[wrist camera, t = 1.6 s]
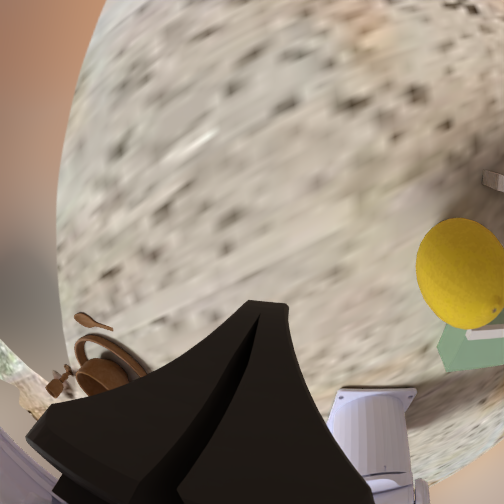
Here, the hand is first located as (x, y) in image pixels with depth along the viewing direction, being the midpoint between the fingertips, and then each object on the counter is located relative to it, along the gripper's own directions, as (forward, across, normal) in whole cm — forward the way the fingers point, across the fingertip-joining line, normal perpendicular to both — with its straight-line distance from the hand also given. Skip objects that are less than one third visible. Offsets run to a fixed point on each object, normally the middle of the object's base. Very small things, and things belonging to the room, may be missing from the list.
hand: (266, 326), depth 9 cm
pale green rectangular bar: (+9, -21, +7) cm, 24 cm away
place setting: (+10, +24, +19) cm, 33 cm away
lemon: (+10, -10, 0) cm, 14 cm away
